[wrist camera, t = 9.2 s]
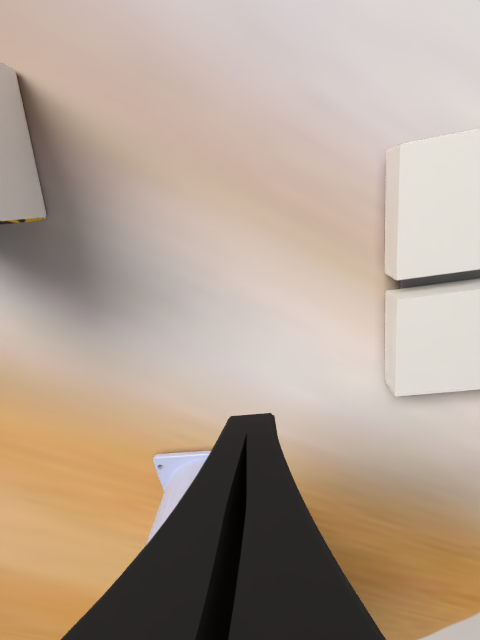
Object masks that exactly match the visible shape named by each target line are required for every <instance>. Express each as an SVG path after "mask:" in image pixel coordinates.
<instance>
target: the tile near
mask: <svg viewBox="0 0 480 640" xmlns="http://www.w3.org/2000/svg"><path fill="white" fill-rule="evenodd" d="M478 269H480V128H478V129H473V130H468V131H463V132H458V133H453V134H448V135H442V136H437V137H432V138H427V139H422V140H417V141H412V142H406V143H401V144H398V145H396V146H394V147H391V148H389V149H387V150H386V203H385V274H387V275H389V276H390V277H392V278H393V279H395V280H403V279H411V278H418V277H426V276H433V275H441V274H448V273H456V272H463V271H471V270H478Z"/></svg>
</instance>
